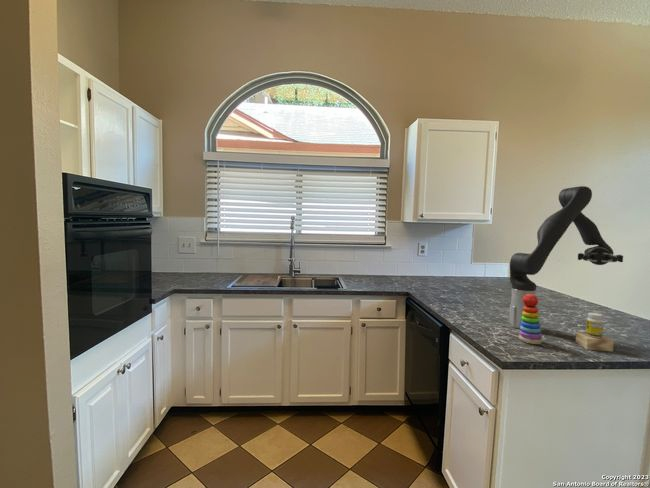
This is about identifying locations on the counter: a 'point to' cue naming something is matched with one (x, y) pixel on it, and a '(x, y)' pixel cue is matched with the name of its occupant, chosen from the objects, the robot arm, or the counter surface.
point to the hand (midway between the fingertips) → (599, 258)
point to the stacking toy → (530, 321)
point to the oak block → (594, 342)
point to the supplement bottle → (594, 325)
